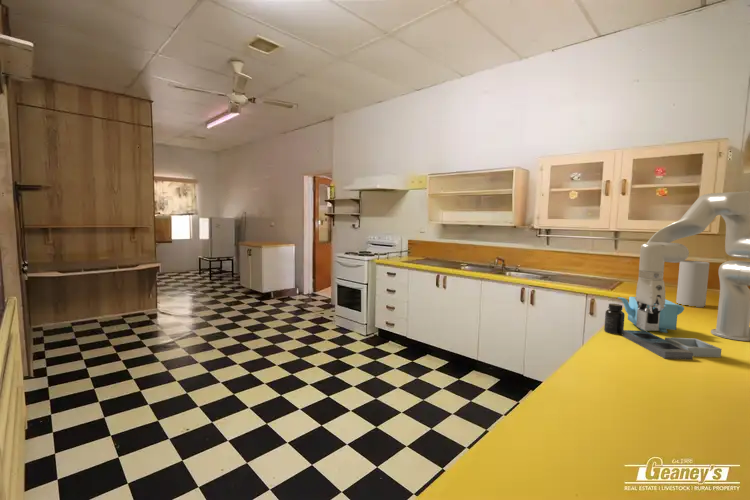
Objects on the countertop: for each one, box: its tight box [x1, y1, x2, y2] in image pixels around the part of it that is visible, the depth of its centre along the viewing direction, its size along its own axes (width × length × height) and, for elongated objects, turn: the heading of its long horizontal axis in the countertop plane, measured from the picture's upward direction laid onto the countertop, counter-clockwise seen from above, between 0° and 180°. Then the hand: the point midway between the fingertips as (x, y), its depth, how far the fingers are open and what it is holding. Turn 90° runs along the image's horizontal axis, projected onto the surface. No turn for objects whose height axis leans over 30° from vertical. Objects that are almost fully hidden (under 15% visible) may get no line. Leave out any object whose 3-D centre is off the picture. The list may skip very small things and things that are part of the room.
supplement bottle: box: [603, 303, 626, 335], centre depth 151 cm, size 7×7×12 cm
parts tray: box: [664, 336, 722, 358], centre depth 130 cm, size 11×11×3 cm
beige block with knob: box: [636, 308, 660, 332], centre depth 138 cm, size 5×5×8 cm
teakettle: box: [617, 296, 685, 334], centre depth 157 cm, size 19×19×15 cm
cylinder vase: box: [675, 260, 710, 308], centre depth 202 cm, size 12×12×25 cm
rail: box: [621, 329, 694, 361], centre depth 134 cm, size 24×9×2 cm, turn 176°
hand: (647, 320), depth 138 cm, fingers closed on beige block with knob, 5 cm apart
